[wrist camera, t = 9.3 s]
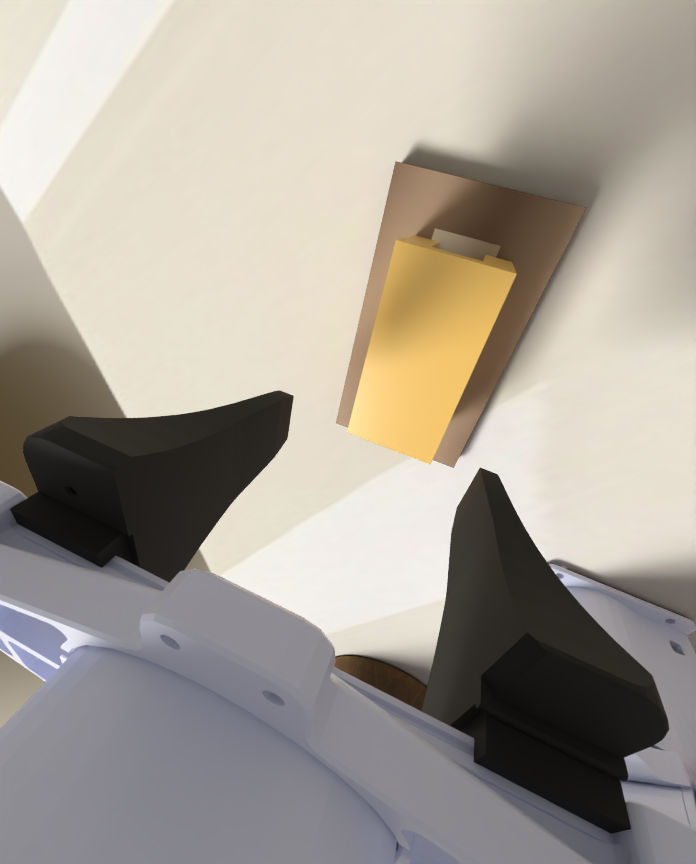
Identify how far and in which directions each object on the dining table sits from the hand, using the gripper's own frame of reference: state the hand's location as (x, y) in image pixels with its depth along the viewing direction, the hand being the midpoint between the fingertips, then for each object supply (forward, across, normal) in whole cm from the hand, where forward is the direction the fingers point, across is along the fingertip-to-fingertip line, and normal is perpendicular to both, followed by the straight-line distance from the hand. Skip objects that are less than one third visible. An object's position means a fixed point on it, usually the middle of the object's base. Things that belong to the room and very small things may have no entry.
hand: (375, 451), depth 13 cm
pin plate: (+9, 0, -2) cm, 9 cm away
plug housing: (+8, 0, -2) cm, 8 cm away
